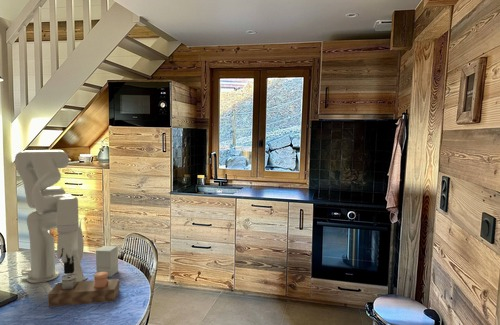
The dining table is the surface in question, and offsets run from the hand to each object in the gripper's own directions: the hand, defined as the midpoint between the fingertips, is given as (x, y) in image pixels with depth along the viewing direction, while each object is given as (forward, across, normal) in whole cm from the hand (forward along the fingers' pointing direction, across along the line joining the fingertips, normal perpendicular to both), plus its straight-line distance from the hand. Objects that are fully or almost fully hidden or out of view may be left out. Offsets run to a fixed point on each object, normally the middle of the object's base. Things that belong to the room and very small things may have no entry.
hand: (69, 272), depth 131 cm
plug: (+8, 0, 0) cm, 8 cm away
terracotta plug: (+8, 0, +12) cm, 14 cm away
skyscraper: (+11, -17, -3) cm, 21 cm away
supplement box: (+11, -24, +9) cm, 28 cm away
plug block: (+11, 0, +6) cm, 13 cm away
